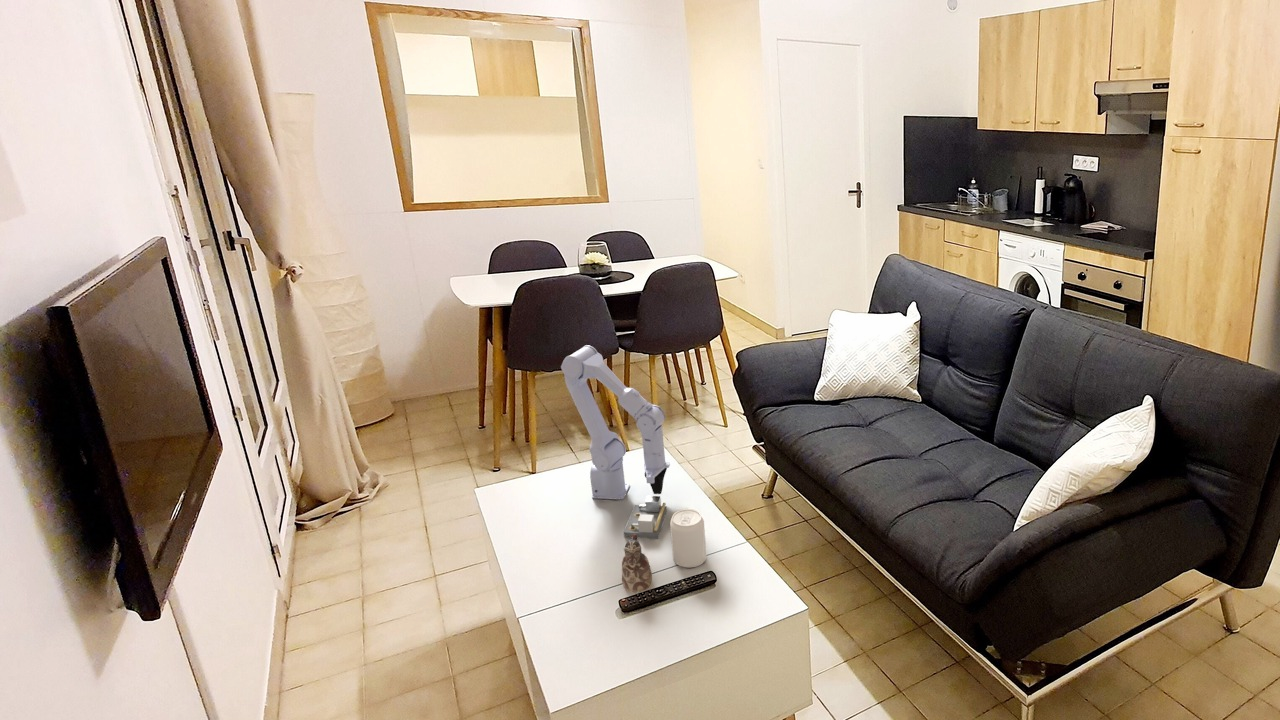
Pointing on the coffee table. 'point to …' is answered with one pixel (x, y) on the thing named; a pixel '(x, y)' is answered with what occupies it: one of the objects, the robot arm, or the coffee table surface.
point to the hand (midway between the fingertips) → (657, 492)
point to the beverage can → (688, 538)
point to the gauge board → (635, 520)
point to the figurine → (635, 568)
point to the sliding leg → (652, 504)
